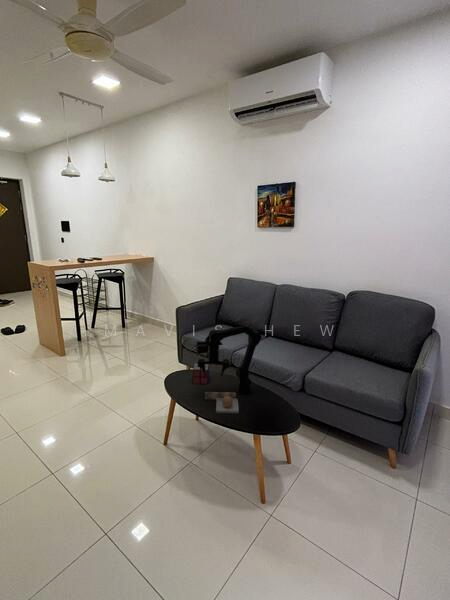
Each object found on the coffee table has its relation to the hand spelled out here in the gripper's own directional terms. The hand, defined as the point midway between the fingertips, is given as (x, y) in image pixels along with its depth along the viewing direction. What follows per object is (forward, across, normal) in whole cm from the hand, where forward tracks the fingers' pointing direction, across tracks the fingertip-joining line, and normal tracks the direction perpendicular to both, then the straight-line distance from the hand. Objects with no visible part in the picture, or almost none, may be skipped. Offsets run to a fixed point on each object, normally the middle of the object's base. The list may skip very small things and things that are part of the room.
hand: (213, 376), depth 177 cm
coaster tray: (+12, -8, +12) cm, 19 cm away
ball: (+12, -8, +12) cm, 19 cm away
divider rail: (+12, -4, +4) cm, 14 cm away
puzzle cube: (+12, +8, -19) cm, 24 cm away
